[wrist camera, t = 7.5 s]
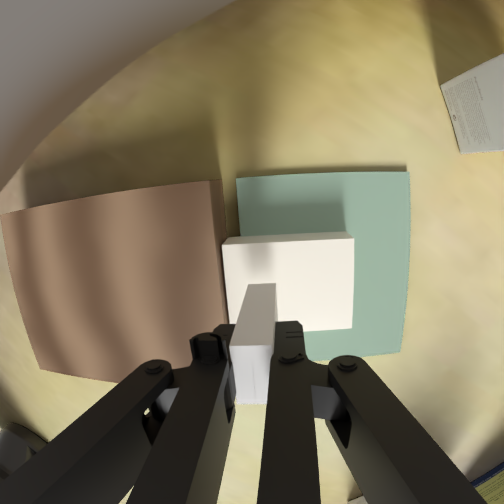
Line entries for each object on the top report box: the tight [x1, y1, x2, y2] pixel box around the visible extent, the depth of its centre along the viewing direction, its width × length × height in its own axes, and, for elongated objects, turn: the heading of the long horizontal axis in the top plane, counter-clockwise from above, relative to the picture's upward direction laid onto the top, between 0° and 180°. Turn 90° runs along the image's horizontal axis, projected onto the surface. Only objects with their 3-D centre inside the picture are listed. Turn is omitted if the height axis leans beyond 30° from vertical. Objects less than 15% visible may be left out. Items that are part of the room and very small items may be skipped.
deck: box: [0, 180, 230, 383], centre depth 22 cm, size 18×14×4 cm
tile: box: [222, 231, 354, 332], centre depth 21 cm, size 8×6×2 cm
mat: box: [236, 172, 410, 361], centre depth 22 cm, size 12×14×1 cm
